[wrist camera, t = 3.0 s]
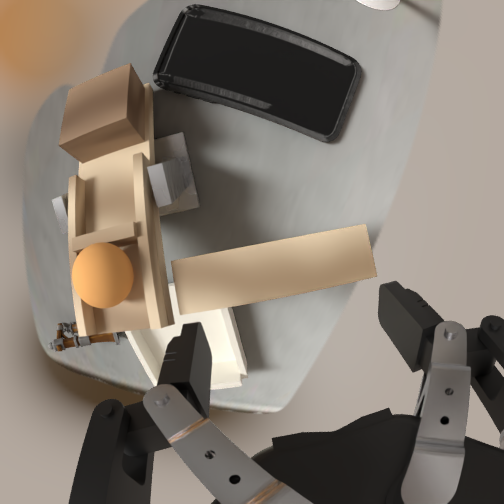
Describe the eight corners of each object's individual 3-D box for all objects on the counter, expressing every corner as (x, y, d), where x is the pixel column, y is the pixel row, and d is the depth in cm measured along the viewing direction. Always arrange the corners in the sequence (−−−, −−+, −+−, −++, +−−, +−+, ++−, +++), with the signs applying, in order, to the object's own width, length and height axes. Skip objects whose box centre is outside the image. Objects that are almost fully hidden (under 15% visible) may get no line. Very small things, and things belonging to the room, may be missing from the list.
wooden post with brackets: (49, 320, 25) (44, 344, 21) (113, 308, 29) (115, 332, 25) (54, 333, 26) (51, 358, 22) (116, 321, 29) (120, 346, 26)
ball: (82, 241, 15) (51, 262, 12) (131, 228, 15) (105, 249, 11) (101, 294, 16) (76, 323, 13) (149, 285, 16) (130, 316, 13)
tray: (120, 289, 25) (107, 310, 22) (222, 271, 25) (221, 292, 21) (159, 370, 29) (153, 393, 26) (246, 360, 29) (248, 385, 26)
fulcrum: (85, 163, 20) (40, 176, 14) (183, 132, 20) (162, 129, 14) (103, 229, 23) (66, 259, 17) (200, 205, 22) (187, 232, 16)
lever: (91, 113, 19) (67, 86, 15) (303, 62, 18) (308, 25, 14) (97, 332, 16) (60, 340, 12) (372, 285, 16) (402, 283, 12)
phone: (185, 2, 15) (365, 64, 18) (187, 7, 16) (359, 66, 19) (148, 86, 18) (333, 147, 20) (152, 88, 19) (329, 147, 22)
